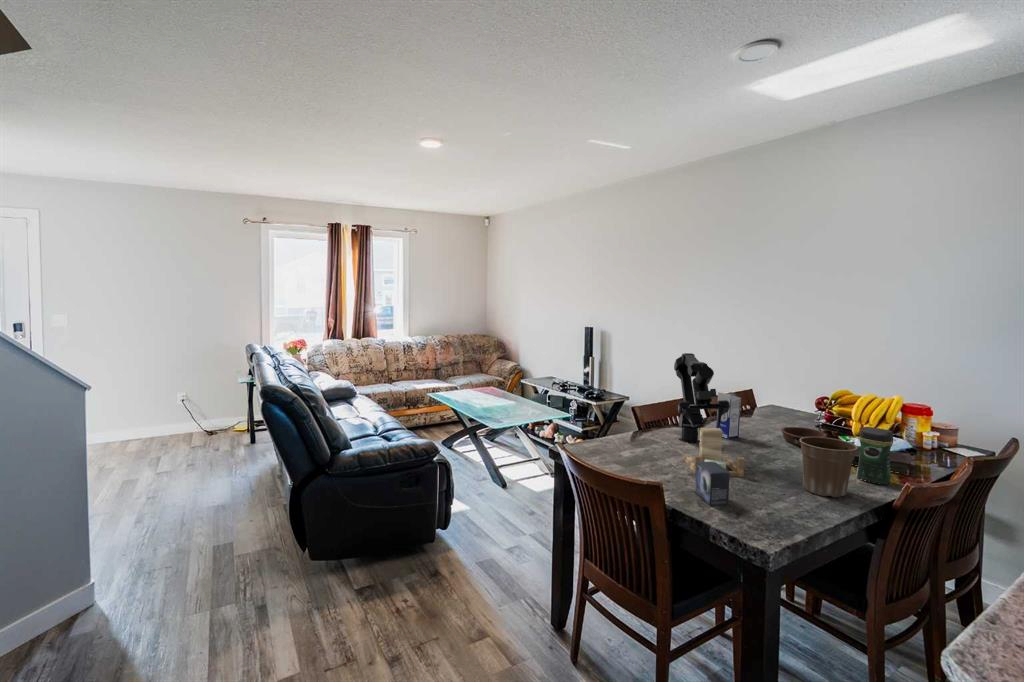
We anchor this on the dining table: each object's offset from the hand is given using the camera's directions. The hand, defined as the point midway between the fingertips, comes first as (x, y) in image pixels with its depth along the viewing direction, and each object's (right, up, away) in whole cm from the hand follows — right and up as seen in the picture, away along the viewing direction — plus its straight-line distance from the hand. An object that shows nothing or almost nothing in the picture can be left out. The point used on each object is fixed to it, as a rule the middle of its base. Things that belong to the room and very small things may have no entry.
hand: (706, 427), depth 204 cm
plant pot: (+28, -16, -30) cm, 44 cm away
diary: (+62, -14, -1) cm, 64 cm away
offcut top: (-2, -12, -15) cm, 19 cm away
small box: (-13, -16, -39) cm, 44 cm away
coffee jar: (+50, -16, -20) cm, 56 cm away
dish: (+51, -11, +26) cm, 59 cm away
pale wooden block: (-1, -13, -7) cm, 15 cm away
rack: (-2, -14, -11) cm, 18 cm away
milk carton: (+22, -10, +34) cm, 41 cm away
